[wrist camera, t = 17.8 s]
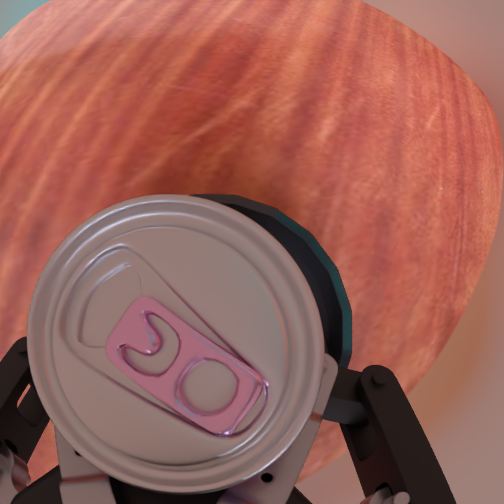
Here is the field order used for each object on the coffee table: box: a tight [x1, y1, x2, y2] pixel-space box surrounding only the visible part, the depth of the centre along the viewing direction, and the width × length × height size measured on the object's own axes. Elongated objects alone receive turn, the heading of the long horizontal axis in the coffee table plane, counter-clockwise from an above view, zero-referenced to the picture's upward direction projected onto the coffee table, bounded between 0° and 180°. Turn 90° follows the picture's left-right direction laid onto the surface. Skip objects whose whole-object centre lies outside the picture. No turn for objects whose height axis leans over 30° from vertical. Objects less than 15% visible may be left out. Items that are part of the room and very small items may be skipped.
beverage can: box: [27, 194, 325, 495], centre depth 12 cm, size 6×6×15 cm
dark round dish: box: [188, 194, 352, 369], centre depth 18 cm, size 15×15×6 cm
